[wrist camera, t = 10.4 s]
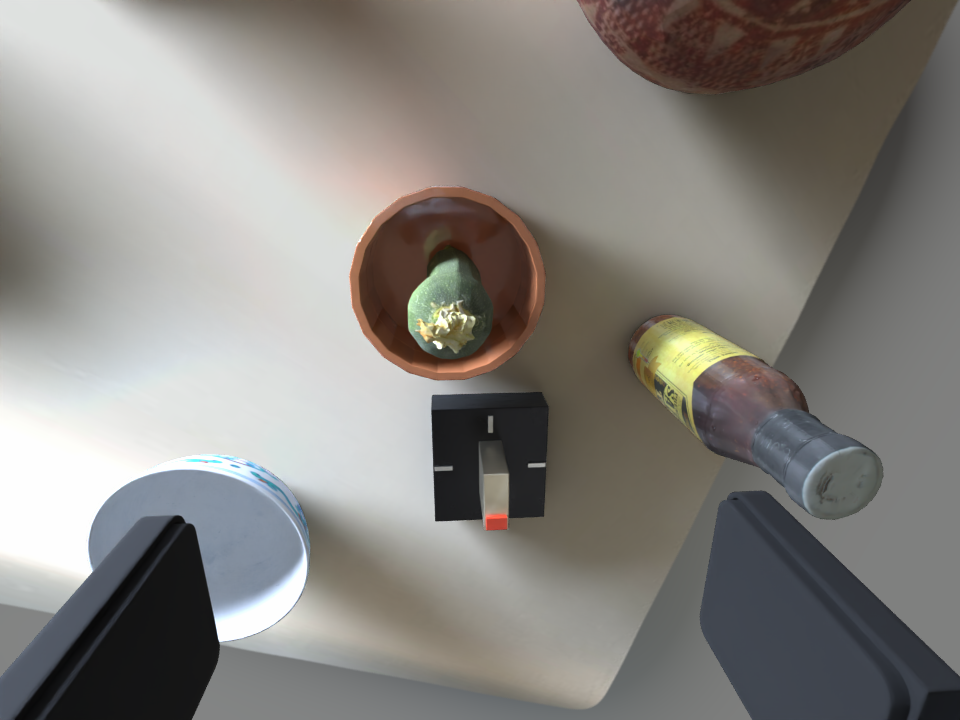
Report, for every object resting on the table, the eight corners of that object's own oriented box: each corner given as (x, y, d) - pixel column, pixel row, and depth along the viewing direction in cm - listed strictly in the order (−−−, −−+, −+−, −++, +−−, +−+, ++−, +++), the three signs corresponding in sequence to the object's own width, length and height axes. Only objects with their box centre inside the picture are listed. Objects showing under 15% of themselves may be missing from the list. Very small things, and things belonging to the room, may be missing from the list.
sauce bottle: (608, 355, 43) (740, 493, 24) (662, 295, 41) (846, 391, 23) (664, 400, 44) (828, 561, 26) (718, 343, 43) (932, 470, 24)
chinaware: (108, 503, 44) (42, 567, 37) (220, 381, 41) (172, 425, 34) (256, 599, 48) (223, 674, 41) (366, 494, 45) (352, 554, 38)
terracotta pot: (359, 185, 37) (341, 187, 31) (530, 185, 38) (549, 186, 31) (371, 350, 41) (357, 383, 35) (526, 346, 42) (541, 378, 35)
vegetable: (488, 278, 40) (530, 369, 21) (442, 311, 40) (442, 429, 21) (453, 229, 38) (465, 279, 20) (406, 264, 39) (373, 345, 20)
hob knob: (478, 440, 41) (483, 476, 36) (501, 439, 41) (510, 475, 36) (479, 491, 42) (484, 533, 38) (501, 490, 43) (509, 531, 38)
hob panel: (432, 394, 43) (431, 410, 40) (541, 391, 43) (549, 407, 40) (435, 500, 46) (435, 523, 43) (537, 496, 47) (544, 518, 44)
